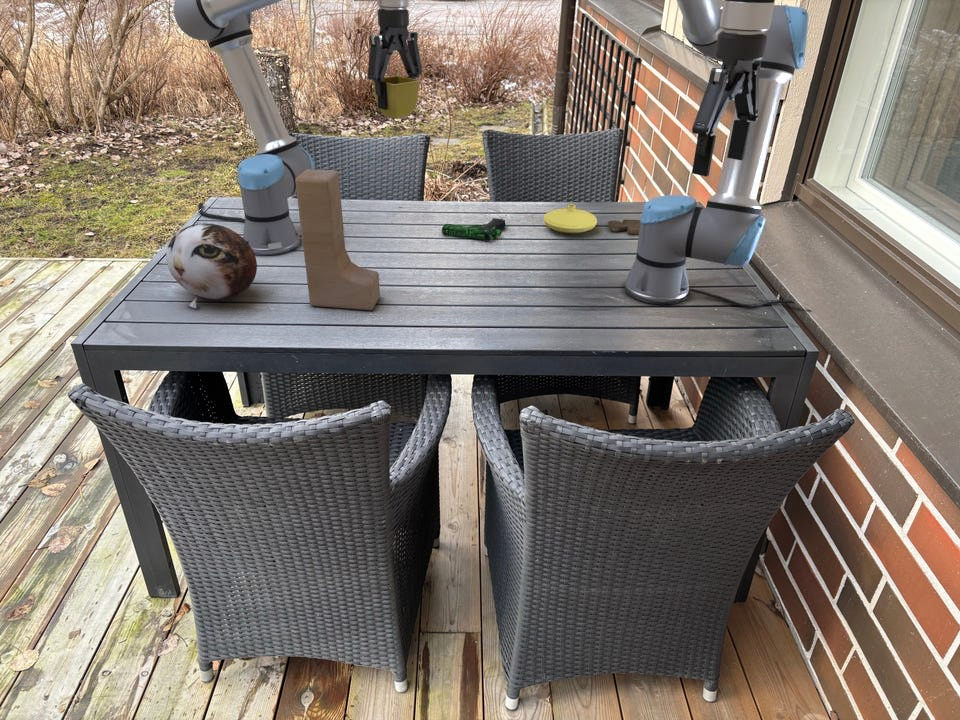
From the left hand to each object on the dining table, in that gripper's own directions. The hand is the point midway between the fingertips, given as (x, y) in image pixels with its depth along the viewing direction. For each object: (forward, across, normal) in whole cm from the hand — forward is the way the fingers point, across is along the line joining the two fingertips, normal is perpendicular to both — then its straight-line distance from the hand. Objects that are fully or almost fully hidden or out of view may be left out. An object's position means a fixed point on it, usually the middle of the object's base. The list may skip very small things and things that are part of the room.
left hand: (396, 106), depth 183 cm
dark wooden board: (+36, -58, +46) cm, 82 cm away
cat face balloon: (+37, +54, -4) cm, 66 cm away
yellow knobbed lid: (+36, -40, +29) cm, 61 cm away
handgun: (+36, -19, +11) cm, 43 cm away
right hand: (-5, +8, +92) cm, 92 cm away
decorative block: (+36, +36, +20) cm, 55 cm away
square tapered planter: (+3, 0, 0) cm, 3 cm away
